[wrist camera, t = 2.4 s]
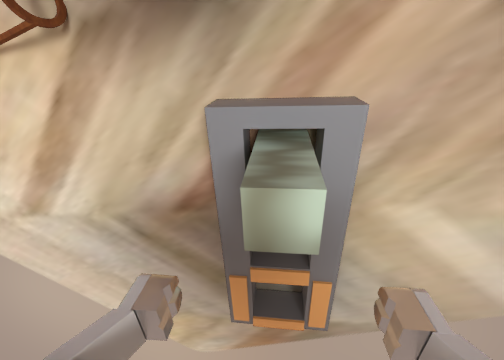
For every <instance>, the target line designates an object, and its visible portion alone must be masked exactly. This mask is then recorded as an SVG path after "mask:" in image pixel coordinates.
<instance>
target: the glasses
mask: <svg viewBox="0 0 504 360" xmlns="http://www.w3.org/2000/svg"><path fill="white" fill-rule="evenodd" d="M2 1H3V2H4V3H5V4H6V5H7V6H8V7H9V8H10V10H11V11H13V12H14V13H15V14H16V15H18V16H19V17H20V18H22V19H23V20H25V21H24V22H22V23H21V24H19V25H17V26H15V27H13V28H11V29H10V30H8V31H6V32H4V33H2V34H0V45H1V44H3V43H5V42H7V41H9V40H11V39H13V38H15V37H17V36H19V35H21V34H23V33H25V32H27V31H29V30H31V29H33V28H34V27H36V26H39V27H44V28H54V27H58V26H60V25H61V24H63V23H64V22H65V20H66V17H67V11H66V6H65V4H64V2H63V0H55V3H56V6H57V14H56V16H55V18H52V19H44V18H39V17H36V16H34V15H32V14H30V13H29V12H27V11H26V10H24V9H23V8H22V7H21V6H19V5H18V4H17V3H16V1H15V0H2Z"/></svg>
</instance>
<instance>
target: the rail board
mask: <svg viewBox="0 0 504 360" xmlns="http://www.w3.org/2000/svg"><path fill="white" fill-rule="evenodd" d="M368 109H369V104H367V103H365V102H364V101H362V100H360V99H358V98H356V97H309V98H260V99H217V100H215V101H214V102H212V103H211V104H209V105H207V106H206V107H205V115H206V123H207V131H208V139H209V147H210V155H211V163H212V171H213V179H214V187H215V195H216V203H217V211H218V219H219V227H220V235H221V243H222V251H223V259H224V267H225V275H226V283H227V291H228V299H229V307H230V315H231V322H237V323H247V324H253V326H259V327H269V328H280V329H290V330H301V331H304V329H312V330H322V331H327V330H328V325H329V320H330V314H331V309H332V303H333V298H334V293H335V287H336V282H337V276H338V271H339V266H340V260H341V255H342V249H343V244H344V239H345V233H346V228H347V223H348V217H349V212H350V206H351V201H352V196H353V190H354V185H355V179H356V174H357V169H358V163H359V158H360V152H361V147H362V142H363V136H364V131H365V126H366V120H367V115H368ZM250 129H317V135H316V146H315V155H316V158H317V161H318V164H319V167H320V170H321V173H322V176H323V179H324V182H325V185H326V188H327V193H326V201H325V209H324V217H323V225H322V233H321V241H320V249H319V255H311V254H293V253H276V252H258V251H244V236H243V222H242V207H241V192H240V187H241V184H242V180H243V177H244V174H245V171H246V168H247V165H248V162H249V159H250V156H251V153H250ZM256 282H260V283H274V284H288V285H302V286H303V288H302V292H289V291H275V290H262V289H256Z"/></svg>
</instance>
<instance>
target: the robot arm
mask: <svg viewBox="0 0 504 360" xmlns="http://www.w3.org/2000/svg"><path fill="white" fill-rule="evenodd" d="M178 282H179V281H178V277H177V276H169V275H157V274H143V273H142V274H140V275H139V276H138V277H137V279H136V280H135V282H134V283H133V285H132V286H131V288H130V290H129V291H128V293H127V294H126V296H125V297H124V299H123V300H122V302H121V303H120V305H119V307H118V308H117V309H113V310H111V311H110V312H108V313H107V314H106V315H104V316H103V317H101V318H100V319H98V320H97V321H96V322H94V323H93V324H92V325H90V326H89V327H87V328H86V329H85V330H83V331H82V332H80V333H79V334H77V335H76V336H75V337H73V338H72V339H70V340H69V341H68V342H66V343H65V344H63V345H62V346H61V347H59V348H58V349H56V350H55V351H54V352H52V353H51V354H49V355H48V356H47V357H45V358H44V359H43V360H128V359H129V358H130V357H131V356H132V355H133V354H134V353H135V352H136V351H137V350H138V349H139V348H140V347H141V346H142V345H143V344H144V343H145V342H146V340H164V341H167V339H168V336H169V334H170V331H171V329H172V326H173V324H174V323H173V320H172V318H173V317H174V316H175V315H176V314H177V313H178V311H179V308H180V305H181V300H182V292H181V289H180V288H179V287H178V286H177V285H178ZM378 295H379V297H380V298H379V299H378V300H376V301H375V305H374V315H375V319H376V322H377V325H378V328H379V329H380V330H381V331H382V332H383V333H384V334H385V335H384V339H383V342H384V344H385V347H386V349H387V352H388V355H389V357H390V360H492V359H491V358H490V357H488V356H487V355H486V354H484V353H483V352H482V351H480V350H479V349H478V348H477V347H475V346H474V345H473V344H471V343H470V342H469V341H467V340H466V339H465V338H464V337H462V336H461V335H460V334H454V332H453V331H452V329H451V328H450V326H449V324H448V323H447V321H446V320H445V318H444V317H443V315H442V314H441V312H440V310H439V309H438V307H437V306H436V304H435V303H434V301H433V300H432V298H431V297H430V295H429V294H428V292H427V291H426V290H425V289H411V288H395V287H381V288H380V289H379V291H378Z"/></svg>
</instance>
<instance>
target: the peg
mask: <svg viewBox="0 0 504 360" xmlns="http://www.w3.org/2000/svg"><path fill="white" fill-rule="evenodd" d="M240 192H241V207H242V222H243V236H244V251H258V252H276V253H293V254H311V255H319V249H320V241H321V233H322V225H323V217H324V209H325V201H326V193H327V188H326V185H325V182H324V179H323V176H322V173H321V170H320V167H319V164H318V161H317V158H316V155H315V152H314V149H313V146H312V143H311V140H310V137H309V134H308V131H307V129H259V131H258V134H257V137H256V140H255V144H254V147H253V150H252V153H251V156H250V159H249V162H248V165H247V168H246V171H245V174H244V177H243V180H242V184H241V187H240Z"/></svg>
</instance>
